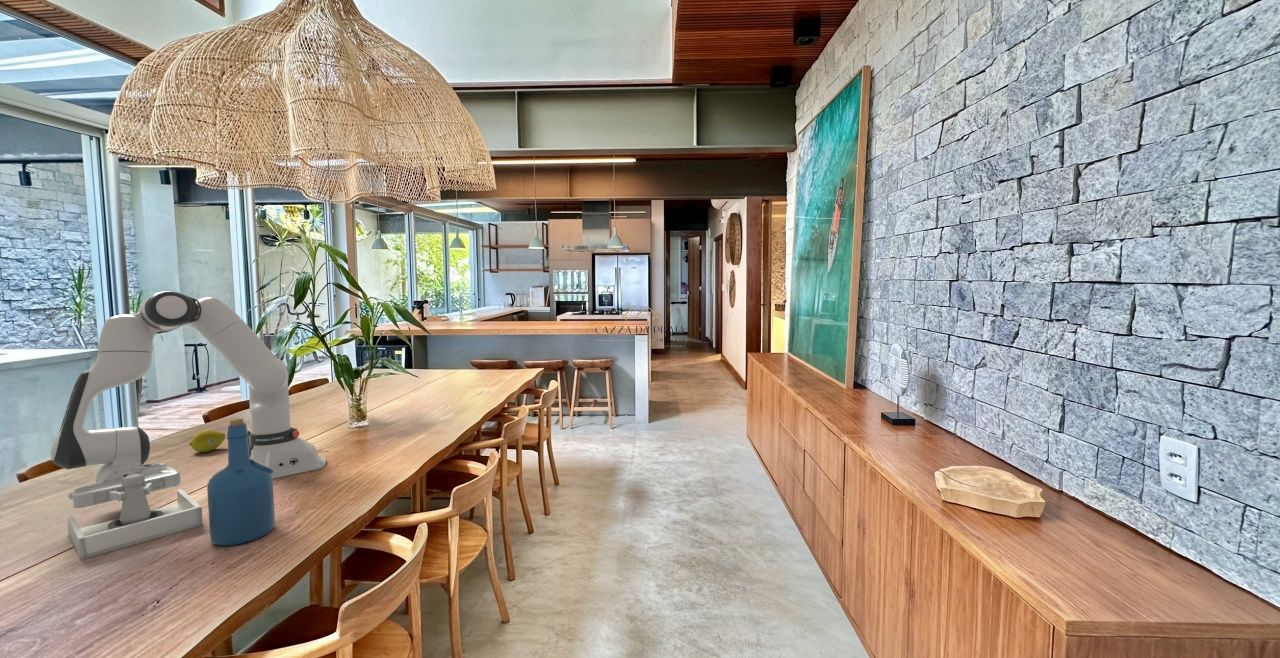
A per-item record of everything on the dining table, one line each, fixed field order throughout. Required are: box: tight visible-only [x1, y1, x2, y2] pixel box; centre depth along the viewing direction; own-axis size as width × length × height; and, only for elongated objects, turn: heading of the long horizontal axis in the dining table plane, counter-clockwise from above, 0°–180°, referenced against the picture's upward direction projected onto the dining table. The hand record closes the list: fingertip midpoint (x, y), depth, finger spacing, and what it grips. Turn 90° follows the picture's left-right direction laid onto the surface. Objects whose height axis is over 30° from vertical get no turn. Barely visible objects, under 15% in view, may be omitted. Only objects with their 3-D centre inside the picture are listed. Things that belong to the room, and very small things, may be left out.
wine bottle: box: [206, 417, 276, 547], centre depth 129 cm, size 14×13×30 cm
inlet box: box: [66, 488, 204, 561], centre depth 132 cm, size 20×22×5 cm
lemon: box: [188, 429, 226, 453], centre depth 196 cm, size 11×8×8 cm
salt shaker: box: [119, 474, 151, 526], centre depth 132 cm, size 6×6×13 cm
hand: (134, 494), depth 131 cm, fingers closed on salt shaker, 3 cm apart
